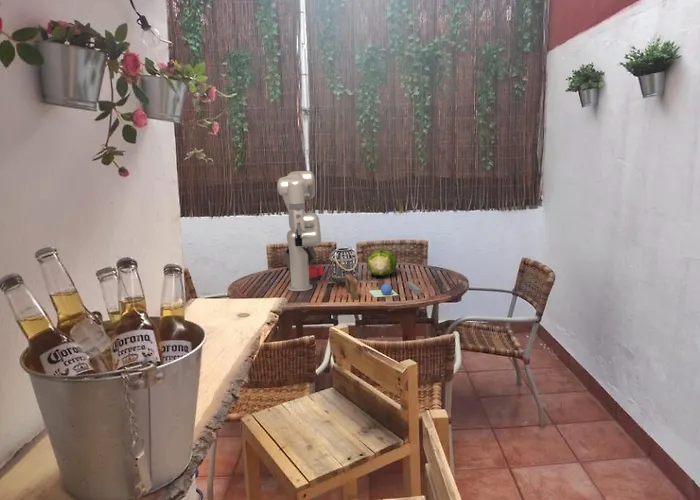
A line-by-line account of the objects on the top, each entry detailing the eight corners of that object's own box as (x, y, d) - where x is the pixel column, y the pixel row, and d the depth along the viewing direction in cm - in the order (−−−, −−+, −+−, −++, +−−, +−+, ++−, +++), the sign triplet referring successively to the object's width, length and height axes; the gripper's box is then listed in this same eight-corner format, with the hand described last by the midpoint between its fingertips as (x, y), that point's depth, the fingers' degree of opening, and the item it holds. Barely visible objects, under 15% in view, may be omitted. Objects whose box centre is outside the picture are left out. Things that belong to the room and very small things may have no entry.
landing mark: (368, 291, 268) (368, 290, 268) (391, 289, 270) (391, 288, 270) (374, 297, 256) (374, 296, 256) (398, 295, 259) (398, 294, 259)
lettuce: (364, 281, 288) (364, 254, 285) (370, 272, 308) (369, 246, 305) (394, 281, 285) (394, 254, 282) (397, 272, 305) (397, 246, 302)
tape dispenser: (315, 279, 296) (314, 271, 295) (298, 278, 300) (298, 270, 299) (325, 273, 309) (324, 265, 308) (309, 273, 313) (308, 264, 312)
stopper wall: (407, 286, 274) (407, 282, 273) (410, 286, 274) (410, 281, 274) (416, 294, 258) (416, 289, 258) (420, 294, 259) (420, 289, 258)
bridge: (351, 300, 253) (351, 281, 251) (345, 292, 267) (345, 274, 265) (357, 299, 254) (357, 280, 252) (351, 291, 268) (351, 273, 266)
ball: (381, 295, 262) (377, 285, 261) (391, 291, 263) (388, 281, 262) (384, 298, 257) (380, 287, 256) (395, 293, 258) (391, 283, 256)
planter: (278, 263, 319) (294, 235, 313) (281, 260, 326) (298, 232, 321) (301, 278, 318) (318, 250, 313) (304, 275, 325) (321, 248, 320)
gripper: (306, 208, 239) (308, 248, 242) (303, 205, 253) (304, 242, 256) (290, 209, 237) (292, 249, 241) (287, 206, 252) (289, 243, 255)
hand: (298, 245), depth 249 cm, fingers closed
